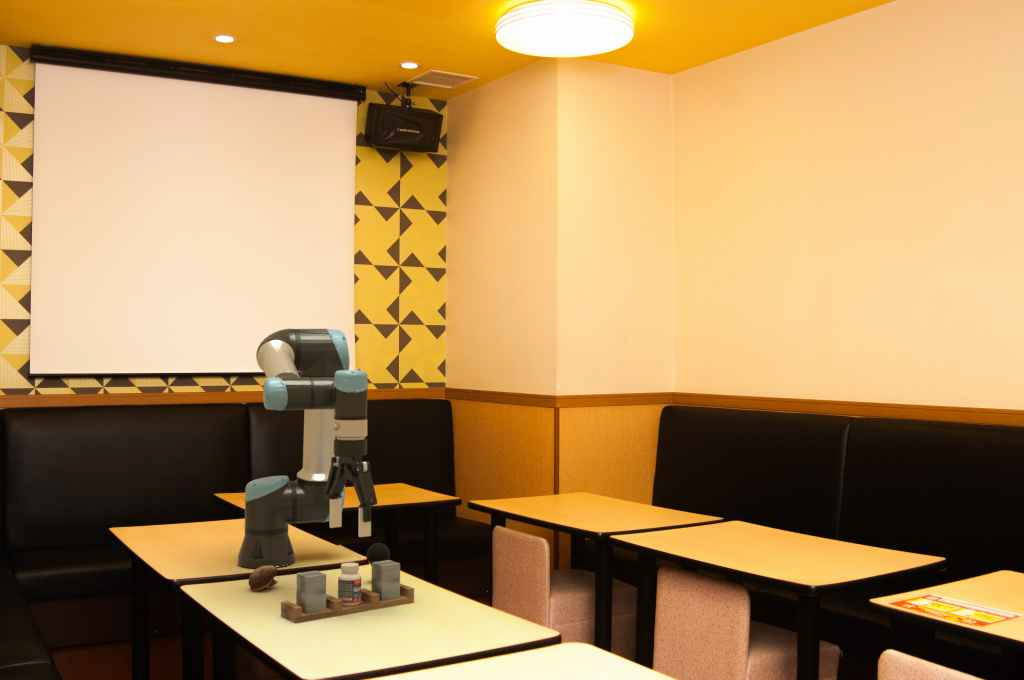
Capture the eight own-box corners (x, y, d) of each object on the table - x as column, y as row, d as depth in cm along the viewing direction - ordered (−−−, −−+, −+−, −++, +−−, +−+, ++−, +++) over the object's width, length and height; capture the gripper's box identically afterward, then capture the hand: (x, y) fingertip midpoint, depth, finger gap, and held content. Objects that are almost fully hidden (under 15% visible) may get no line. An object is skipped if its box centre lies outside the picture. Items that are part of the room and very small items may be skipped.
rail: (280, 616, 222) (281, 574, 222) (397, 595, 240) (398, 557, 240) (295, 623, 216) (295, 580, 216) (413, 602, 235) (414, 562, 235)
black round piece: (388, 585, 250) (388, 545, 250) (364, 585, 251) (364, 545, 251) (391, 580, 256) (391, 540, 256) (368, 580, 256) (368, 540, 256)
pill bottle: (356, 607, 225) (356, 567, 225) (334, 605, 226) (334, 566, 226) (364, 601, 230) (364, 562, 230) (342, 600, 231) (343, 561, 231)
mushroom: (289, 572, 250) (274, 554, 248) (279, 592, 242) (264, 573, 241) (264, 585, 252) (249, 567, 250) (254, 605, 245) (238, 586, 243)
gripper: (310, 434, 236) (309, 525, 236) (363, 443, 216) (362, 542, 216) (339, 433, 241) (338, 521, 240) (393, 441, 221) (392, 538, 221)
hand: (349, 531), depth 228 cm, fingers open, 13 cm apart
